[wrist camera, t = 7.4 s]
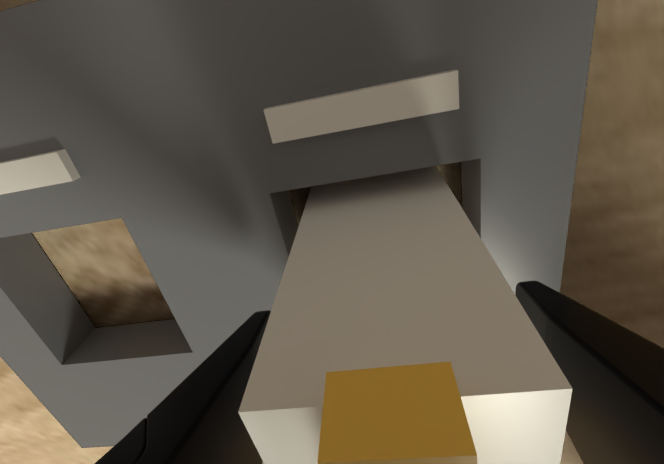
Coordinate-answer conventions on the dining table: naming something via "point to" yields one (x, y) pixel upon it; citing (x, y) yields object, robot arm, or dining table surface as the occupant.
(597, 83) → the dining table surface
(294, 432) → the plug
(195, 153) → the panel
